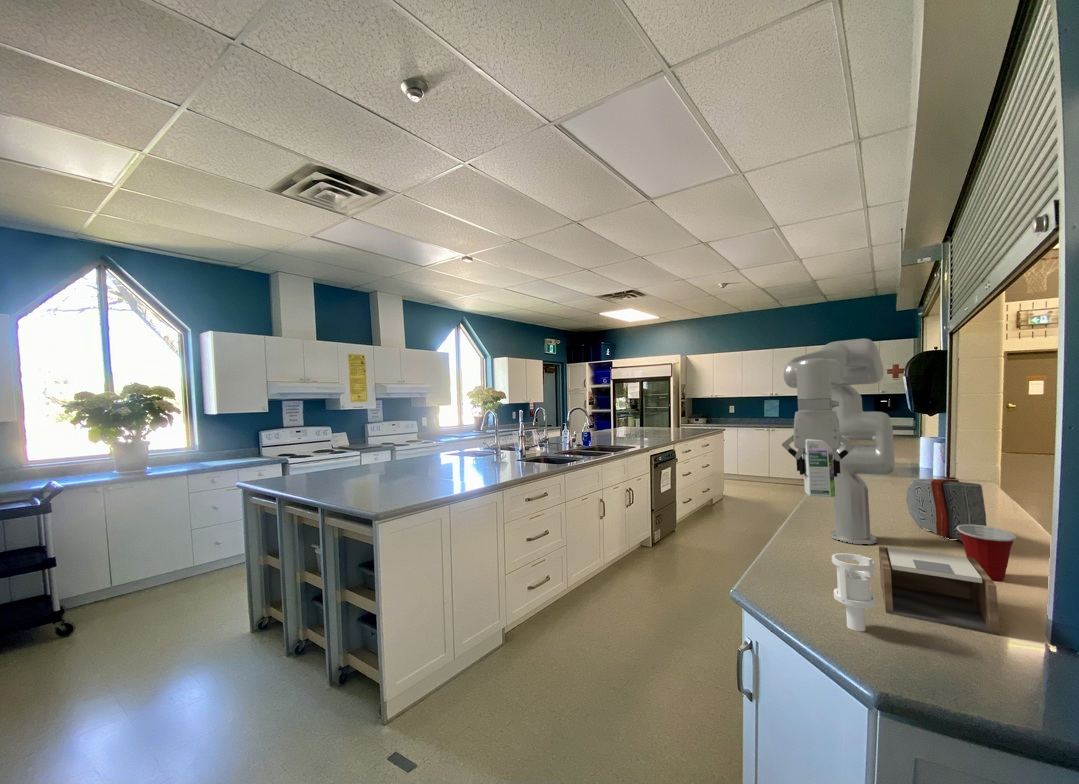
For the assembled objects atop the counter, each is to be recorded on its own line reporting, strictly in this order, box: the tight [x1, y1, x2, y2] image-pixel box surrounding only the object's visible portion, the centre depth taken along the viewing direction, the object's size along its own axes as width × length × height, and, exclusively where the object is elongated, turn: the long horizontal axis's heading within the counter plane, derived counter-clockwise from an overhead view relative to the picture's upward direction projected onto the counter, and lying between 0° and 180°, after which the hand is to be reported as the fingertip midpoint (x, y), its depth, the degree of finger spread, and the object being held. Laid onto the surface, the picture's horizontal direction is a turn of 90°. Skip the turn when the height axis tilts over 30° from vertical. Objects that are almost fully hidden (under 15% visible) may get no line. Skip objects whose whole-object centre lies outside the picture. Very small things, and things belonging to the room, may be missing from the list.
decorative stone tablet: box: [906, 478, 988, 542], centre depth 144 cm, size 19×6×30 cm
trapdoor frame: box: [878, 545, 1000, 636], centre depth 96 cm, size 18×17×10 cm
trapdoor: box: [886, 546, 982, 583], centre depth 96 cm, size 14×14×1 cm
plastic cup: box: [956, 525, 1017, 582], centre depth 110 cm, size 11×11×12 cm
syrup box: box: [802, 439, 835, 498], centre depth 111 cm, size 6×6×14 cm
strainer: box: [831, 552, 877, 633], centre depth 88 cm, size 7×7×15 cm
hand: (818, 474), depth 111 cm, fingers closed on syrup box, 6 cm apart
